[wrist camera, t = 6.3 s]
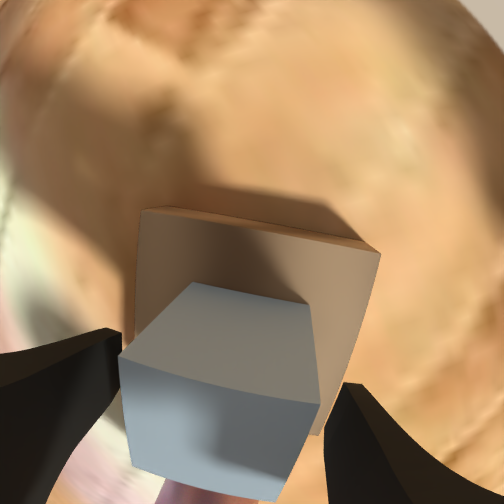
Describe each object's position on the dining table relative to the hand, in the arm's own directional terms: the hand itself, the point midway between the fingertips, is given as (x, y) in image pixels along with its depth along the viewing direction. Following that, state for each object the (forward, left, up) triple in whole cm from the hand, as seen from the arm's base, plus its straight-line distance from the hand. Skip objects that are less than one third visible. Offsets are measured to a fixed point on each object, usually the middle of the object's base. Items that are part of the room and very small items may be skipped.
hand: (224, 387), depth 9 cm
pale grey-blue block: (0, 0, -3) cm, 3 cm away
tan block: (0, 0, -6) cm, 6 cm away
